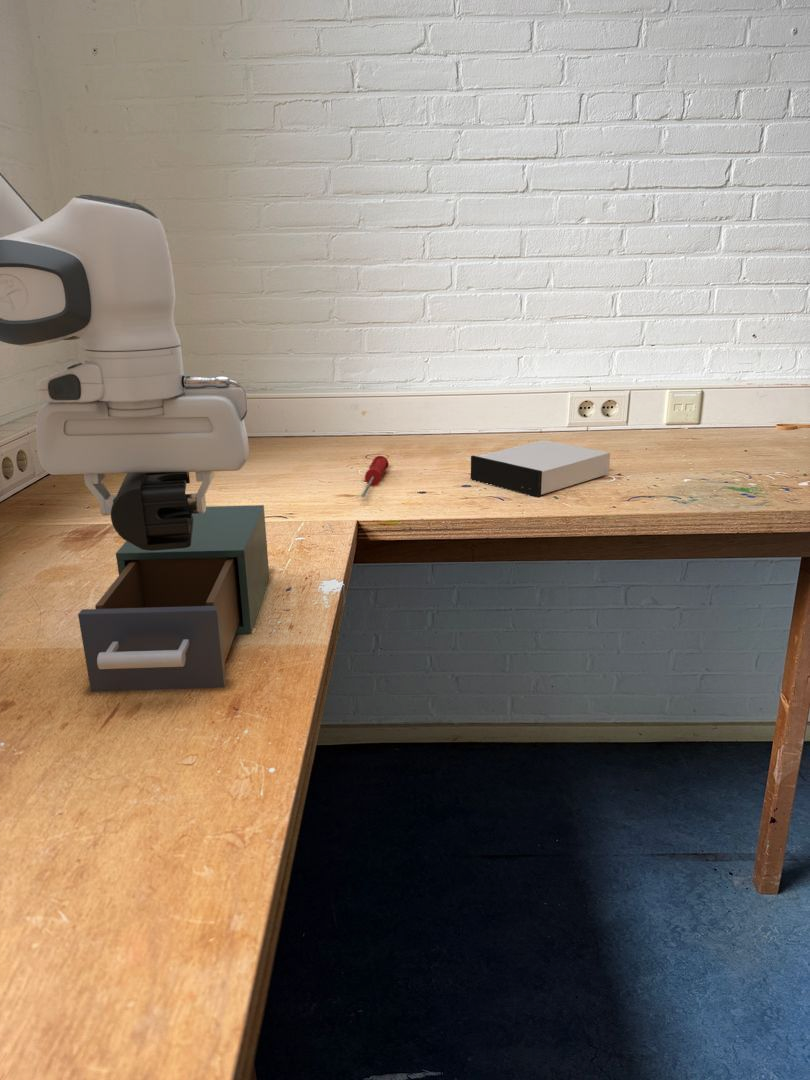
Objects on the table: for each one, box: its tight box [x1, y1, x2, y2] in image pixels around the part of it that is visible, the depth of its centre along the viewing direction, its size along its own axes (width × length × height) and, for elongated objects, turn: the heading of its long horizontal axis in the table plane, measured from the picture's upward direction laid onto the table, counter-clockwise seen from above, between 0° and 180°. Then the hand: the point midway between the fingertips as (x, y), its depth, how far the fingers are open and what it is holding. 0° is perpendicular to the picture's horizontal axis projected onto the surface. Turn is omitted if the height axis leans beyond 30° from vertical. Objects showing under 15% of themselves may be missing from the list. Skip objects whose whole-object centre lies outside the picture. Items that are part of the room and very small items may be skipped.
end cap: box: [110, 472, 194, 551], centre depth 82 cm, size 10×7×7 cm
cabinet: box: [115, 504, 270, 635], centre depth 103 cm, size 18×15×11 cm
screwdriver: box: [360, 455, 389, 498], centre depth 156 cm, size 4×25×4 cm, turn 174°
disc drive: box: [470, 439, 611, 498], centre depth 161 cm, size 18×22×5 cm
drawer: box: [77, 557, 241, 693], centre depth 86 cm, size 21×14×9 cm, turn 2°
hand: (154, 513), depth 82 cm, fingers closed on end cap, 7 cm apart
